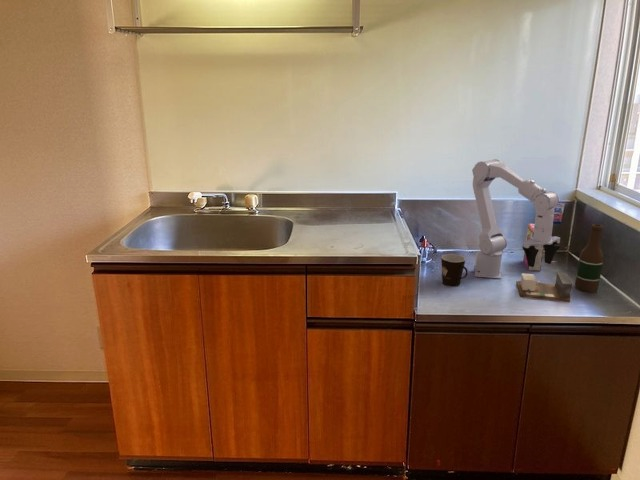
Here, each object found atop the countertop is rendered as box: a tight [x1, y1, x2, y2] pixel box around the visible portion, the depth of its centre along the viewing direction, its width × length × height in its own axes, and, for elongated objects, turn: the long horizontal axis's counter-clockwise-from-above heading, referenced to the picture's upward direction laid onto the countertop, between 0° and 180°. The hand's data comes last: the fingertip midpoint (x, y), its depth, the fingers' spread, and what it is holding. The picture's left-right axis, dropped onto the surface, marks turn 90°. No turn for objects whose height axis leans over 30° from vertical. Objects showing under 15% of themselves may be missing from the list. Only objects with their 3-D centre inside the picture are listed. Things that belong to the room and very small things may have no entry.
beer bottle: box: [574, 223, 604, 294], centre depth 174 cm, size 8×8×24 cm
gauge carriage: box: [520, 272, 542, 294], centre depth 173 cm, size 6×9×4 cm
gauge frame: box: [515, 272, 573, 303], centre depth 173 cm, size 16×12×6 cm
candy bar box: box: [522, 223, 545, 272], centre depth 196 cm, size 11×5×16 cm, turn 168°
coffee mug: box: [440, 253, 468, 287], centre depth 179 cm, size 12×9×10 cm
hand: (539, 264), depth 172 cm, fingers open, 7 cm apart
